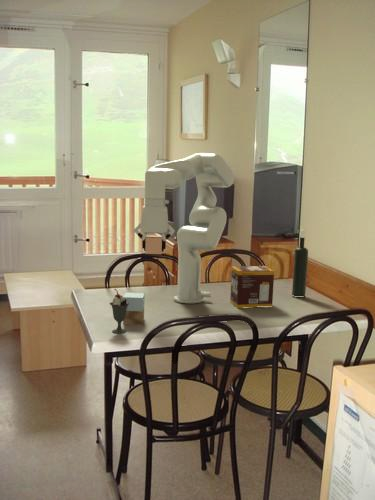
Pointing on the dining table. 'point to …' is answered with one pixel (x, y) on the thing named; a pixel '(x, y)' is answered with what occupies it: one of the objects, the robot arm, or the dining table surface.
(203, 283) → the dining table surface
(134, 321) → the block bottom
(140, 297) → the block top
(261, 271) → the supplement box
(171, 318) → the dining table surface
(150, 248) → the cube
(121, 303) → the sundae
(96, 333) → the dining table surface
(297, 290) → the wine bottle
